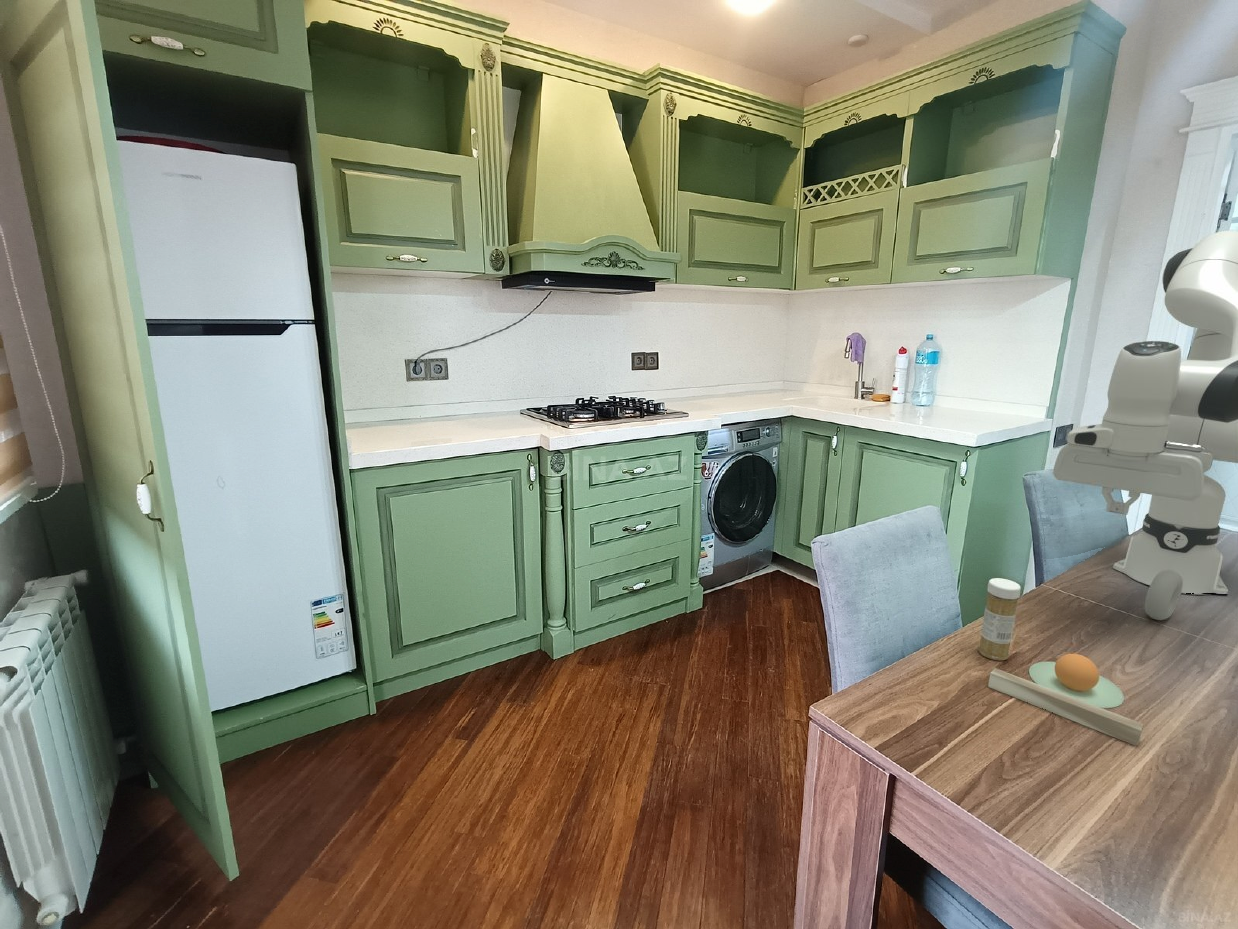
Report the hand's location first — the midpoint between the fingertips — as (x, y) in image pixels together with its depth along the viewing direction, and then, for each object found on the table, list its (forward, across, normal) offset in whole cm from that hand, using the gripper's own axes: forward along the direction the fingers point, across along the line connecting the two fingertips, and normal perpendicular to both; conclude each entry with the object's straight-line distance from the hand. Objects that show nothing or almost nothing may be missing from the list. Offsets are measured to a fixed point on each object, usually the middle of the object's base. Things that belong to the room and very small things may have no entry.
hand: (1116, 512), depth 105 cm
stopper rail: (+21, -2, +36) cm, 42 cm away
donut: (+23, -8, -12) cm, 27 cm away
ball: (+18, -2, +27) cm, 33 cm away
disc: (+21, -2, +26) cm, 34 cm away
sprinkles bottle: (+22, +10, +26) cm, 35 cm away
